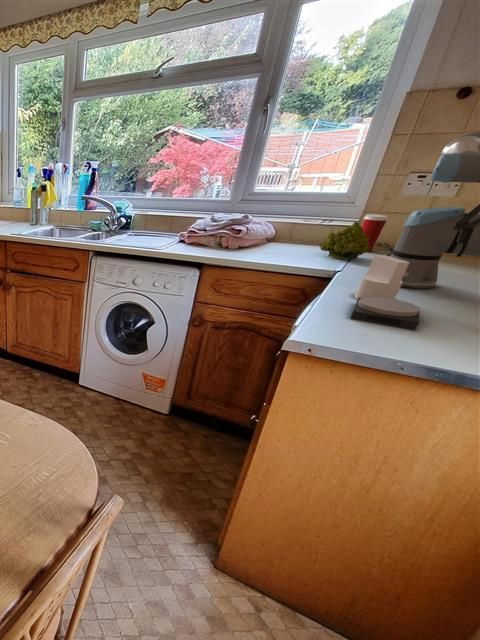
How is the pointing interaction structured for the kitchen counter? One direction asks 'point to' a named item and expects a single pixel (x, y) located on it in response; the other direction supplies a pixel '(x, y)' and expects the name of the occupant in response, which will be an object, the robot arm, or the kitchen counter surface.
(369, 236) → the paper cup
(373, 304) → the kitchen scale
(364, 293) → the white stepped block
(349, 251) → the vegetable
